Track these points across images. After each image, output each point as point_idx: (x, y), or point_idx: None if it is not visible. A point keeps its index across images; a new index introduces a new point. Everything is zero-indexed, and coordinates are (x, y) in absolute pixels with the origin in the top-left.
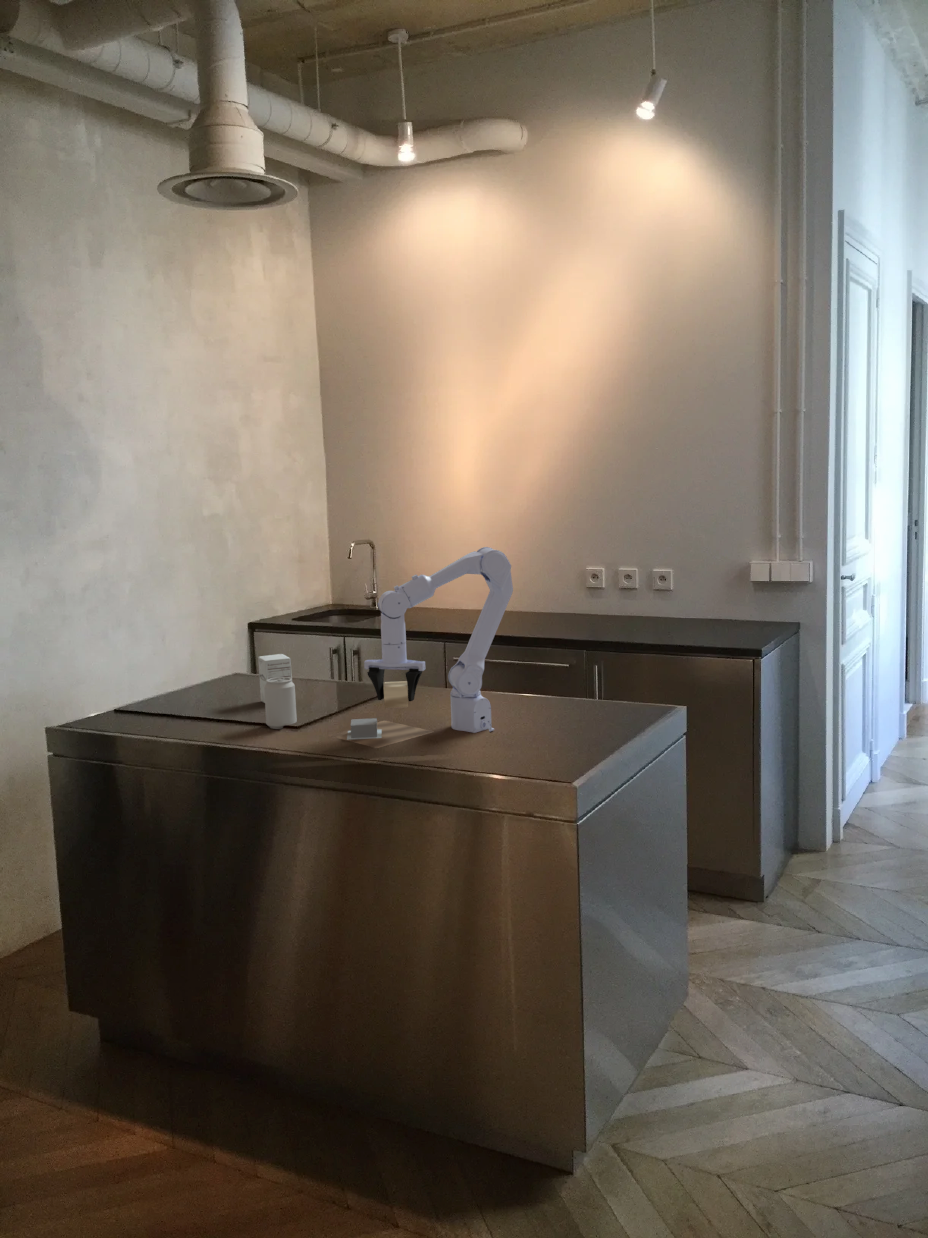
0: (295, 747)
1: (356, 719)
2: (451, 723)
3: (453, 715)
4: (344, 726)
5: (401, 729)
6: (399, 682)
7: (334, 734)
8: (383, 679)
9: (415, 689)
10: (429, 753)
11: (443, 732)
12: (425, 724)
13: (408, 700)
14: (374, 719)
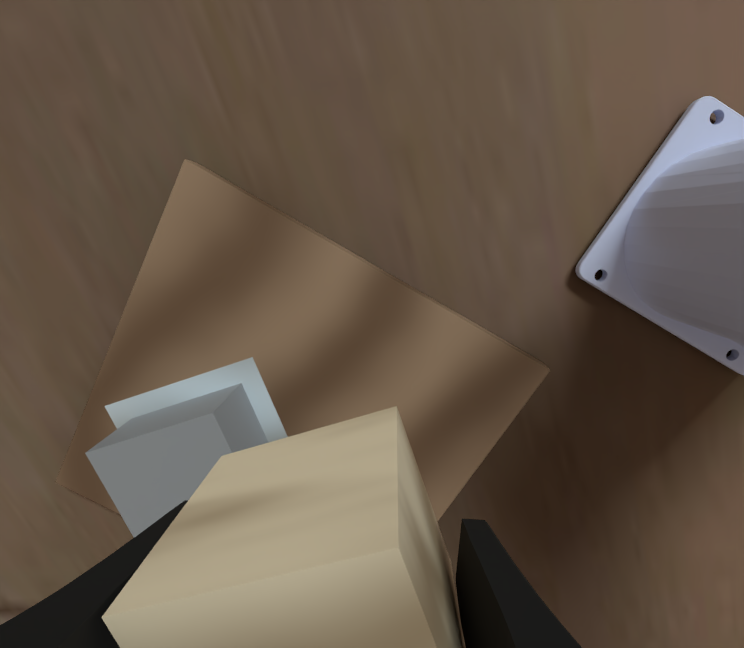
0: (18, 576)
1: (112, 450)
2: (644, 268)
3: (710, 322)
4: (8, 237)
5: (356, 346)
6: (318, 629)
7: (77, 467)
8: (65, 645)
9: (532, 595)
10: (569, 607)
11: (572, 287)
12: (429, 123)
13: (456, 586)
14: (213, 441)
